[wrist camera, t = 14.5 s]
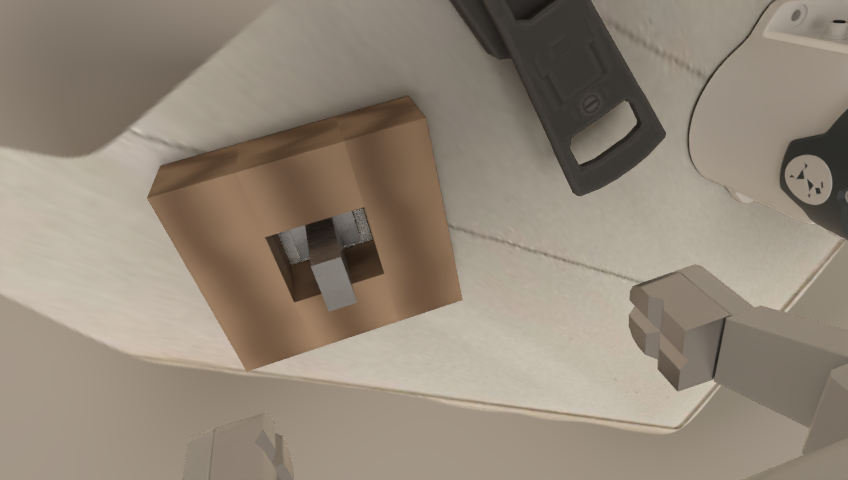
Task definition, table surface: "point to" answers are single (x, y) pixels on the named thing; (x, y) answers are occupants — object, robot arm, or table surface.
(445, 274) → the walnut well
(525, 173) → the table surface
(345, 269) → the steel bracket
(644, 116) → the zipper pull
